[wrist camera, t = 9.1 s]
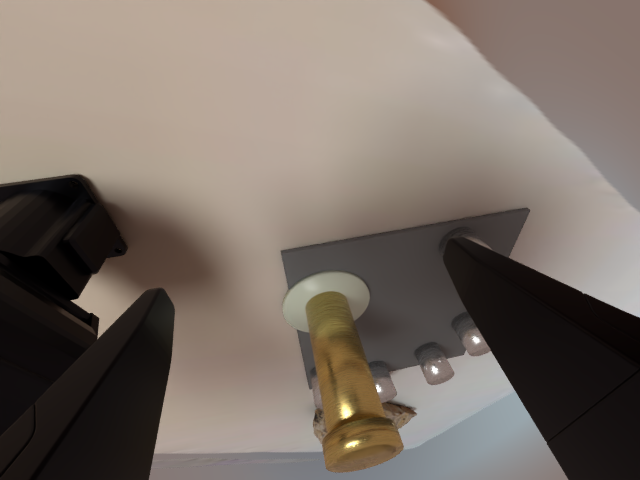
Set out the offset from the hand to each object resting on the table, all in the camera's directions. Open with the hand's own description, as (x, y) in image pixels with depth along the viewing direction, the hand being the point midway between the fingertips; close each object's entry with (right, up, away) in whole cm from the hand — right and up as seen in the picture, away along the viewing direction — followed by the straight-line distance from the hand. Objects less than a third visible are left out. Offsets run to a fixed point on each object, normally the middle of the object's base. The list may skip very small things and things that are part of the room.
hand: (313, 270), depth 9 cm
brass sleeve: (+1, -6, +20) cm, 21 cm away
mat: (+9, -8, +25) cm, 28 cm away
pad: (+1, -5, +21) cm, 22 cm away
